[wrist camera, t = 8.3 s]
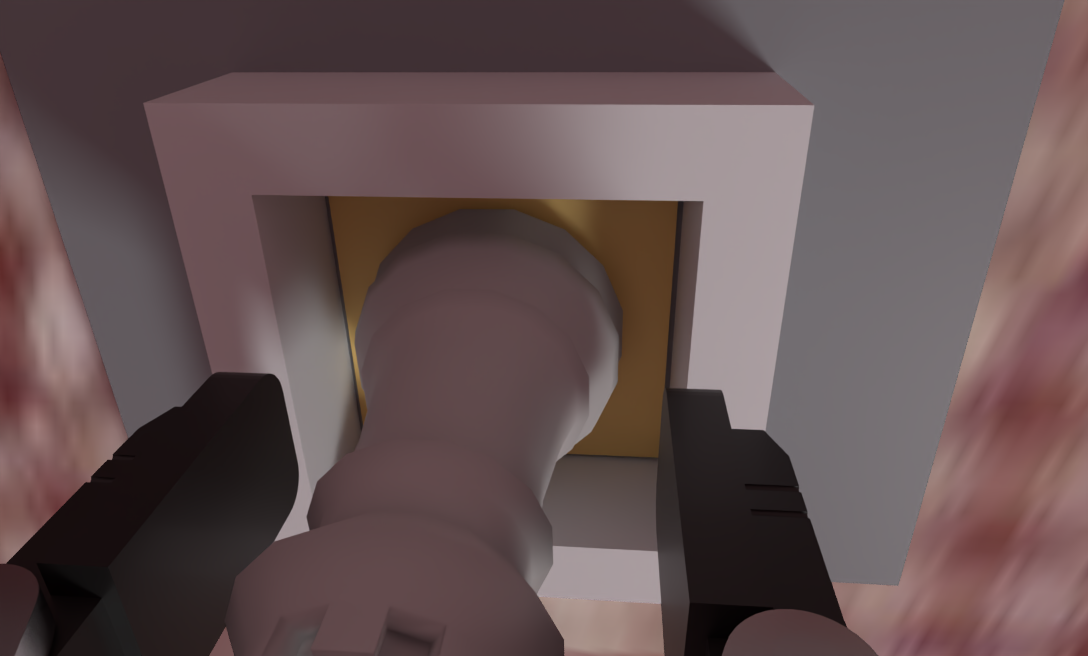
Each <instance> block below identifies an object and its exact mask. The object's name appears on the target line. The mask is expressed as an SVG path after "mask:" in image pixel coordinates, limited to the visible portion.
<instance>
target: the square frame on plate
mask: <svg viewBox="0 0 1088 656" xmlns="http://www.w3.org/2000/svg"><path fill="white" fill-rule="evenodd" d="M1063 3H1064V0H0V52H1V55H2V58H3V61H4V65H5V68H6V71H7V74H8V77H9V80H10V83H11V86H12V89H13V92H14V95H15V98H16V101H17V104H18V107H19V110H20V113H21V116H22V119H23V122H24V125H25V128H26V131H27V134H28V137H29V140H30V143H31V146H32V149H33V152H34V155H35V158H36V161H37V164H38V167H39V170H40V173H41V176H42V179H43V182H44V185H45V188H46V191H47V194H48V197H49V200H50V203H51V206H52V209H53V212H54V215H55V218H56V221H57V224H58V227H59V230H60V233H61V237H62V240H63V243H64V246H65V249H66V252H67V255H68V258H69V261H70V264H71V267H72V270H73V273H74V276H75V279H76V282H77V285H78V288H79V291H80V294H81V297H82V300H83V303H84V306H85V309H86V312H87V315H88V318H89V321H90V324H91V327H92V330H93V333H94V336H95V339H96V342H97V345H98V348H99V351H100V354H101V357H102V360H103V363H104V366H105V369H106V372H107V375H108V378H109V381H110V384H111V387H112V390H113V393H114V396H115V399H116V402H117V405H118V409H119V412H120V415H121V418H122V421H123V424H124V427H125V430H126V433H127V436H128V438H129V437H130V436H131V435H132V434H133V433H134V432H135V431H136V430H137V429H138V428H140V427H141V426H143V425H145V424H147V423H148V422H150V421H152V420H153V419H155V418H157V417H158V416H160V415H162V414H163V413H165V412H167V411H168V410H170V409H172V408H173V407H175V406H176V407H182V406H183V405H184V404H185V403H186V402H187V400H188V399H189V398H190V397H191V396H192V395H193V394H194V393H195V392H196V391H197V390H198V389H199V388H200V386H201V385H202V384H203V383H204V382H205V381H206V380H207V379H208V378H209V377H210V376H211V375H212V374H214V373H216V372H243V373H270V374H274V375H275V376H276V377H277V378H278V379H279V381H280V383H281V386H282V389H283V393H284V398H285V403H286V408H287V413H288V418H289V422H290V427H291V432H292V437H293V442H294V447H295V451H296V456H297V461H298V467H299V484H298V491H297V496H296V500H295V503H294V506H293V508H292V510H291V512H290V514H289V516H288V518H287V520H286V521H285V523H284V525H283V527H282V528H281V530H280V532H279V534H278V535H277V537H276V539H275V541H278V540H281V539H284V538H287V537H290V536H294V535H297V534H300V533H303V532H307V531H309V526H308V522H307V517H306V516H307V513H308V510H309V506H310V503H311V500H312V496H313V493H314V490H315V487H316V483H317V481H318V480H319V479H320V478H321V477H322V476H324V475H325V474H326V473H327V472H328V471H329V470H330V469H331V468H332V467H333V466H334V465H335V464H336V463H337V462H338V461H339V460H341V459H342V458H343V457H344V456H345V455H346V454H348V453H351V452H354V450H355V448H356V446H357V444H358V442H359V439H360V435H361V432H362V428H363V425H364V421H365V417H366V414H367V405H366V399H365V393H364V390H363V389H362V387H361V381H360V375H359V369H358V362H357V356H356V350H355V331H356V328H357V324H358V321H359V318H360V314H361V311H362V307H363V304H364V301H365V297H366V294H367V291H368V287H369V286H370V285H371V284H372V283H373V282H374V281H375V279H376V276H377V272H378V269H379V266H380V263H381V262H382V261H383V260H384V259H385V258H386V257H387V256H388V254H389V253H390V252H391V251H392V250H393V249H394V248H395V247H396V246H397V245H398V244H399V243H400V242H401V240H402V239H403V238H404V237H405V236H406V235H407V234H408V233H409V232H410V231H411V230H412V229H413V228H415V227H418V226H420V225H423V224H425V223H428V222H430V221H432V220H435V219H437V218H440V217H442V216H444V215H447V214H449V213H452V212H454V211H457V210H459V209H514V210H517V211H519V212H522V213H524V214H527V215H529V216H532V217H534V218H537V219H539V220H542V221H545V222H547V223H550V224H552V225H555V226H557V227H560V228H562V229H565V230H566V231H567V232H568V233H569V234H570V235H571V236H572V237H573V238H574V239H576V240H577V241H578V242H579V243H580V244H581V245H582V246H583V247H584V248H585V249H586V250H587V251H588V252H589V253H590V254H591V255H593V256H594V257H595V258H596V259H597V260H598V261H599V262H600V263H601V264H602V265H603V266H604V268H605V271H606V273H607V275H608V277H609V280H610V282H611V284H612V287H613V289H614V291H615V294H616V296H617V298H618V300H619V303H620V305H621V307H622V310H623V326H622V356H621V358H620V360H619V362H618V382H617V384H616V386H615V388H614V390H613V392H612V394H611V396H610V398H609V400H608V402H607V404H606V406H605V408H604V409H603V411H602V413H601V415H600V417H599V419H598V421H597V423H596V425H595V426H594V428H593V430H592V432H590V433H589V434H588V435H587V436H585V437H584V438H583V439H582V440H580V441H579V442H578V443H576V444H575V445H574V447H573V449H572V450H570V451H569V452H568V453H567V454H565V455H564V456H563V457H562V458H560V459H559V460H558V461H556V464H555V467H554V470H553V473H552V476H551V479H550V482H549V485H548V488H547V490H546V493H545V496H544V499H543V506H542V509H543V511H544V513H545V515H546V517H547V518H548V520H549V522H550V524H551V526H552V537H553V566H552V567H551V569H550V571H549V573H548V575H547V576H546V578H545V580H544V582H543V584H542V586H541V587H540V589H539V591H538V593H537V596H538V597H552V598H569V599H587V600H604V601H621V602H638V603H655V604H661V593H660V578H659V563H658V549H657V534H656V483H657V469H658V455H659V440H660V426H661V412H662V400H663V392H664V388H685V389H714V390H722V392H723V395H724V399H725V403H726V407H727V412H728V416H729V420H730V424H731V429H750V430H764V431H765V432H766V433H767V434H768V435H769V436H770V437H771V438H772V439H773V440H774V441H775V442H776V443H777V444H778V445H779V446H780V447H781V448H782V449H783V450H784V451H785V452H786V453H787V454H788V455H789V457H790V460H791V463H792V466H793V469H794V472H795V475H796V478H797V481H798V484H799V492H801V493H802V496H803V499H804V502H805V505H806V508H807V511H808V514H807V515H808V518H810V520H811V523H812V526H813V529H814V532H815V535H816V538H817V541H818V544H819V547H820V550H821V553H822V556H823V559H824V562H825V565H826V568H827V571H828V574H829V577H830V580H831V582H843V583H861V584H879V585H897V586H898V585H899V581H900V578H901V574H902V571H903V567H904V564H905V560H906V557H907V553H908V550H909V546H910V543H911V539H912V535H913V532H914V528H915V525H916V521H917V518H918V514H919V511H920V507H921V504H922V500H923V497H924V493H925V490H926V486H927V483H928V479H929V476H930V472H931V469H932V465H933V461H934V458H935V454H936V451H937V447H938V444H939V440H940V437H941V433H942V430H943V426H944V423H945V419H946V416H947V412H948V409H949V405H950V402H951V398H952V394H953V391H954V387H955V384H956V380H957V377H958V373H959V370H960V366H961V363H962V359H963V356H964V352H965V349H966V345H967V342H968V338H969V335H970V331H971V328H972V324H973V320H974V317H975V313H976V310H977V306H978V303H979V299H980V296H981V292H982V289H983V285H984V282H985V278H986V275H987V271H988V268H989V264H990V261H991V257H992V254H993V250H994V246H995V243H996V239H997V236H998V232H999V229H1000V225H1001V222H1002V218H1003V215H1004V211H1005V208H1006V204H1007V201H1008V197H1009V194H1010V190H1011V187H1012V183H1013V179H1014V176H1015V172H1016V169H1017V165H1018V162H1019V158H1020V155H1021V151H1022V148H1023V144H1024V141H1025V137H1026V134H1027V130H1028V127H1029V123H1030V120H1031V116H1032V113H1033V109H1034V105H1035V102H1036V98H1037V95H1038V91H1039V88H1040V84H1041V81H1042V77H1043V74H1044V70H1045V67H1046V63H1047V60H1048V56H1049V53H1050V49H1051V46H1052V42H1053V39H1054V35H1055V31H1056V28H1057V24H1058V21H1059V17H1060V14H1061V10H1062V7H1063Z"/></svg>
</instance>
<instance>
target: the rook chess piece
mask: <svg viewBox="0 0 1088 656" xmlns="http://www.w3.org/2000/svg"><path fill="white" fill-rule="evenodd" d="M622 326H623V310H622V307H621V305H620V303H619V300H618V298H617V296H616V294H615V291H614V289H613V287H612V284H611V282H610V280H609V277H608V275H607V273H606V271H605V268H604V266H603V265H602V264H601V263H600V262H599V261H598V260H597V259H596V258H595V257H594V256H593V255H591V254H590V253H589V252H588V251H587V250H586V249H585V248H584V247H583V246H582V245H581V244H580V243H579V242H578V241H577V240H576V239H574V238H573V237H572V236H571V235H570V234H569V233H568V232H567V231H566V230H565V229H562V228H560V227H557V226H555V225H552V224H550V223H547V222H545V221H542V220H539V219H537V218H534V217H532V216H529V215H527V214H524V213H522V212H519V211H517V210H514V209H459V210H457V211H454V212H452V213H449V214H447V215H444V216H442V217H440V218H437V219H435V220H432V221H430V222H428V223H425V224H423V225H420V226H418V227H415V228H413V229H412V230H411V231H410V232H409V233H408V234H407V235H406V236H405V237H404V238H403V239H402V240H401V242H400V243H399V244H398V245H397V246H396V247H395V248H394V249H393V250H392V251H391V252H390V253H389V254H388V256H387V257H386V258H385V259H384V260H383V261H382V262H381V263H380V266H379V269H378V272H377V276H376V279H375V281H374V282H373V283H372V284H371V285H370V286H369V287H368V291H367V294H366V297H365V301H364V304H363V307H362V311H361V314H360V318H359V321H358V324H357V328H356V331H355V350H356V356H357V362H358V369H359V375H360V381H361V387H362V389H363V390H364V393H365V399H366V405H367V414H366V417H365V421H364V425H363V428H362V432H361V435H360V439H359V442H358V444H357V446H356V448H355V450H354V452H351V453H348V454H346V455H345V456H344V457H343V458H342V459H341V460H339V461H338V462H337V463H336V464H335V465H334V466H333V467H332V468H331V469H330V470H329V471H328V472H327V473H326V474H325V475H324V476H322V477H321V478H320V479H319V480H318V481H317V483H316V487H315V490H314V493H313V496H312V500H311V503H310V506H309V510H308V513H307V516H306V517H307V522H308V526H309V531H307V532H303V533H300V534H297V535H294V536H290V537H287V538H284V539H281V540H278V541H274V542H273V543H272V544H271V545H270V546H269V547H268V548H267V549H266V550H265V551H263V552H262V553H261V554H260V555H259V556H258V557H257V558H256V559H255V560H254V561H253V562H252V563H250V564H249V565H248V566H247V567H246V568H245V569H244V570H243V571H242V572H241V573H240V574H238V575H237V576H236V578H235V582H234V586H233V590H232V594H231V598H230V602H229V606H228V610H227V614H226V618H225V624H226V628H227V631H228V635H229V639H230V642H231V646H232V649H233V652H234V656H564V639H563V638H562V636H561V634H560V632H559V631H558V629H557V627H556V626H555V624H554V622H553V621H552V619H551V617H550V616H549V614H548V612H547V611H546V609H545V607H544V606H543V604H542V602H541V601H540V599H539V597H538V596H537V593H538V591H539V589H540V587H541V586H542V584H543V582H544V580H545V578H546V576H547V575H548V573H549V571H550V569H551V567H552V566H553V537H552V526H551V524H550V522H549V520H548V518H547V517H546V515H545V513H544V511H543V509H542V506H543V499H544V496H545V493H546V490H547V488H548V485H549V482H550V479H551V476H552V473H553V470H554V467H555V464H556V461H558V460H559V459H560V458H562V457H563V456H564V455H565V454H567V453H568V452H569V451H570V450H572V449H573V447H574V445H575V444H576V443H578V442H579V441H580V440H582V439H583V438H584V437H585V436H587V435H588V434H589V433H590V432H592V430H593V428H594V426H595V425H596V423H597V421H598V419H599V417H600V415H601V413H602V411H603V409H604V408H605V406H606V404H607V402H608V400H609V398H610V396H611V394H612V392H613V390H614V388H615V386H616V384H617V382H618V362H619V360H620V358H621V356H622Z"/></svg>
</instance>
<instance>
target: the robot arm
mask: <svg viewBox="0 0 1088 656" xmlns="http://www.w3.org/2000/svg"><path fill="white" fill-rule="evenodd" d="M298 484H299V467H298V461H297V456H296V451H295V447H294V442H293V437H292V432H291V427H290V422H289V418H288V413H287V408H286V403H285V398H284V393H283V389H282V386H281V383H280V381H279V379H278V378H277V377H276V376H275V375H274V374H270V373H243V372H216V373H214V374H212V375H211V376H210V377H209V378H208V379H207V380H206V381H205V382H204V383H203V384H202V385H201V386H200V388H199V389H198V390H197V391H196V392H195V393H194V394H193V395H192V396H191V397H190V398H189V399H188V400H187V402H186V403H185V404H184V405H183V406H182V407H176V406H175V407H173V408H172V409H170V410H168V411H167V412H165V413H163V414H162V415H160V416H158V417H157V418H155V419H153V420H152V421H150V422H148V423H147V424H145V425H143V426H141V427H140V428H138V429H137V430H136V431H135V432H134V433H133V434H132V435H131V436H130V437H129V438H128V440H127V441H126V442H125V443H124V444H123V445H122V446H121V447H120V448H119V449H118V450H117V451H116V452H115V453H114V454H113V459H112V460H107V461H106V462H105V463H104V464H103V465H102V466H101V467H100V468H99V469H98V470H97V471H96V472H95V473H94V474H93V475H92V476H91V482H90V483H88V482H85V483H84V484H83V486H82V487H81V488H80V489H79V490H78V491H77V492H76V493H75V494H74V495H73V496H72V497H71V498H70V499H69V500H68V501H67V502H66V503H65V504H64V505H63V506H62V507H61V508H60V509H59V510H58V511H57V512H56V513H55V514H54V515H53V516H52V517H51V518H50V519H49V520H48V521H47V522H46V523H45V524H44V525H43V526H42V527H41V528H40V529H39V530H38V532H37V533H36V534H35V535H34V536H33V537H32V538H31V539H30V540H29V541H28V542H27V543H26V544H25V545H24V546H23V547H22V548H21V549H20V550H19V551H18V552H17V553H16V554H15V555H14V556H13V557H12V558H11V559H10V560H9V561H8V562H7V563H6V564H0V656H209V655H210V653H211V651H212V650H213V648H214V646H215V644H216V642H217V641H218V639H219V637H220V636H221V634H222V632H223V630H224V629H225V627H226V624H225V618H226V614H227V610H228V606H229V602H230V598H231V594H232V590H233V586H234V582H235V578H236V576H237V575H238V574H240V573H241V572H242V571H243V570H244V569H245V568H246V567H247V566H248V565H249V564H250V563H252V562H253V561H254V560H255V559H256V558H257V557H258V556H259V555H260V554H261V553H262V552H263V551H265V550H266V549H267V548H268V547H269V546H270V545H271V544H272V543H273V542H274V541H275V539H276V537H277V535H278V534H279V532H280V530H281V528H282V527H283V525H284V523H285V521H286V520H287V518H288V516H289V514H290V512H291V510H292V508H293V506H294V503H295V500H296V496H297V491H298ZM807 514H808V511H807V508H806V505H805V502H804V499H803V496H802V493H801V492H799V484H798V481H797V478H796V475H795V472H794V469H793V466H792V463H791V460H790V457H789V455H788V454H787V453H786V452H785V451H784V450H783V449H782V448H781V447H780V446H779V445H778V444H777V443H776V442H775V441H774V440H773V439H772V438H771V437H770V436H769V435H768V434H767V433H766V432H765V431H764V430H750V429H731V424H730V420H729V416H728V412H727V407H726V403H725V399H724V395H723V392H722V390H714V389H685V388H664V392H663V400H662V412H661V426H660V440H659V455H658V469H657V483H656V534H657V549H658V563H659V578H660V593H661V608H662V623H663V638H664V653H665V656H878V655H877V654H876V653H875V651H874V650H873V649H872V648H871V647H870V646H869V645H868V644H867V643H866V642H865V641H864V640H863V639H861V638H860V637H859V636H858V635H857V634H855V633H854V632H852V631H851V630H849V629H848V628H847V626H846V624H845V621H844V619H843V616H842V613H841V610H840V607H839V604H838V601H837V598H836V595H835V592H834V589H833V586H832V583H831V580H830V577H829V574H828V571H827V568H826V565H825V562H824V559H823V556H822V553H821V550H820V547H819V544H818V541H817V538H816V535H815V532H814V529H813V526H812V523H811V520H810V518H808V515H807Z"/></svg>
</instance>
